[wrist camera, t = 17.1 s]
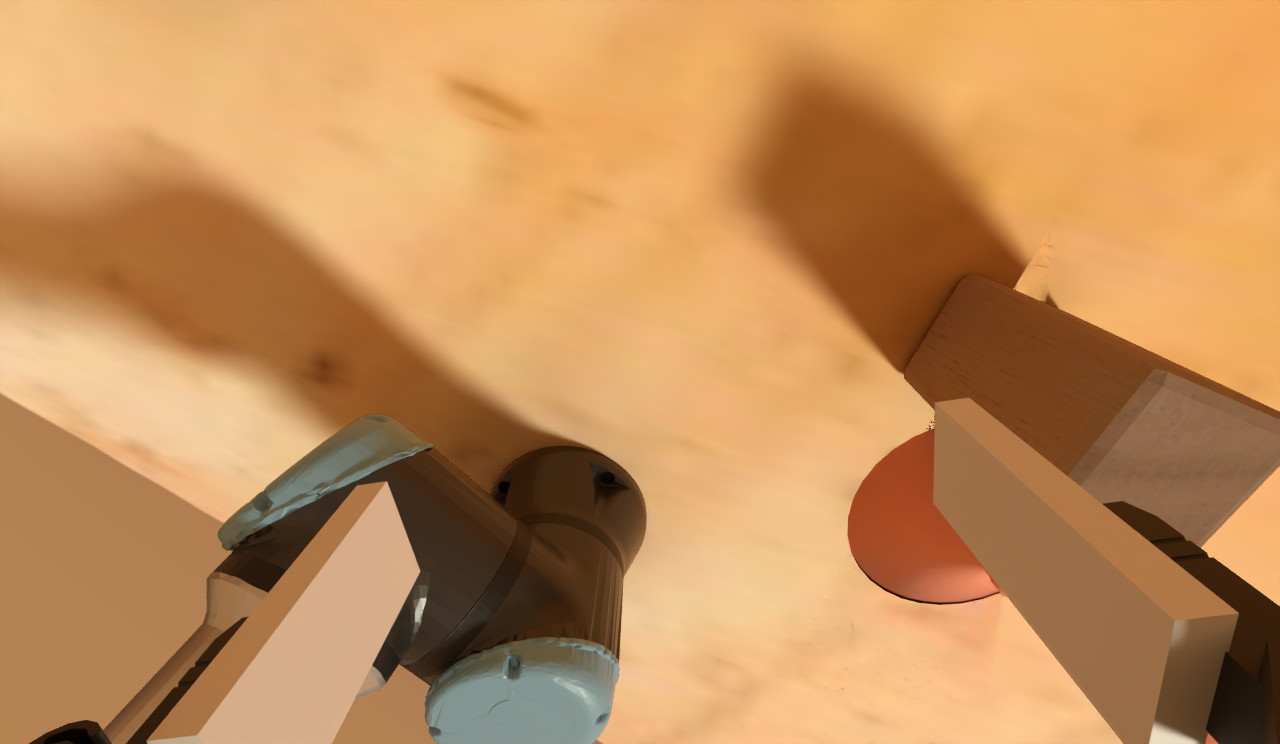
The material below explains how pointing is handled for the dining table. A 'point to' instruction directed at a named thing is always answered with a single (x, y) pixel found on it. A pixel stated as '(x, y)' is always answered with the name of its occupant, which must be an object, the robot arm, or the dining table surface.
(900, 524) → the ceramic vessels
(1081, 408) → the block
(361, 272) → the dining table surface
